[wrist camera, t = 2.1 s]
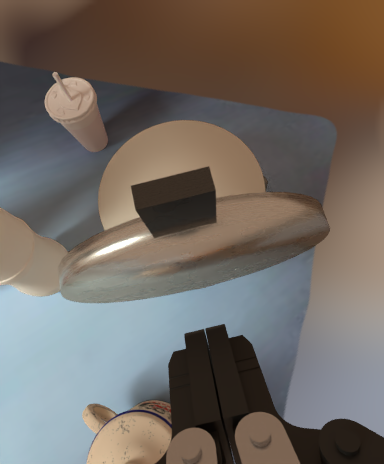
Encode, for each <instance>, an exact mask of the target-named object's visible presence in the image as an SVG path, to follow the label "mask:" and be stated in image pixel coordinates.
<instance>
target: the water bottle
mask: <svg viewBox="0 0 384 464" xmlns="http://www.w3.org/2000/svg"><path fill="white" fill-rule="evenodd" d="M67 253H68V252H67V250H66V249H65V247H63V246H62V245H61V244H60V243H58V242H56V241H55V240H53V239H51V238H47V237H41V236H39V235H38V234H36V233H35V232H34V231H33V230H32V229H31V228H30V227H29V226H28V225H27V224H26V223H25V222H24V221H23V220H22V219H20V218H18V217H15V216H13V215H12V214H10V213H8V212H7V211H5V210H4V209H2V208H1V207H0V285H12V286H13V287H15V288H16V289H18V290H19V291H20V292H22V293H24V294H28V295H32V296H38V297H42V296H50V295H53V294H55V293H57V292H59V291H60V284H59V275H58V265H59V263H60V261H61V260H62V258H63V257H64V256H65V255H66V254H67Z"/></svg>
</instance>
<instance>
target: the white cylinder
mask: <svg viewBox="0 0 384 464" xmlns="http://www.w3.org/2000/svg"><path fill="white" fill-rule="evenodd" d="M208 166H209V168H210V171H211V175H212V178H213V182H214V186H215V189H216V198H218V197H224V196H230V195H239V194H247V193H262V192H265V191H266V187H267V184H268V181H267V180H266V178H265V177H264V176H263V174H262V171H261V168H260V166H259V164H258V161H257V160H256V158H255V156H254V155H253V153H252V152H251V151H250V149H249V148H248V147H247V146H246V145H245V144H244V143H243V142H242V141H241V140H240V139H239V138H237V137H236V136H235V135H233V134H232V133H230V132H229V131H227V130H225V129H223V128H221V127H218V126H216V125H213V124H209V123H206V122H201V121H194V120H179V121H171V122H165V123H161V124H158V125H155V126H152V127H150V128H148V129H145V130H143V131H142V132H140V133H138V134H136V135H135V136H134V137H132V138H131V139H130V140H128V141H127V142H126V143H125V144H124V145H123V146H122V147H120V149H119V150H118V151H117V152H116V153H115V154H114V156H113V157H112V159H111V160H110V162H109V163H108V165H107V167H106V169H105V171H104V174H103V176H102V179H101V183H100V188H99V195H98V207H99V214H100V218H101V222H102V225H103V227H104V230H108V229H110V228H112V227H114V226H117V225H120V224H122V223H125V222H127V221H130V220H132V219H135V218H138V217H140V216H139V215H138V213H137V212H136V210H135V205H134V200H133V195H132V190H131V186H132V185H136V184H140V183H144V182H148V181H152V180H156V179H160V178H164V177H168V176H172V175H176V174H180V173H184V172H188V171H192V170H196V169H200V168H204V167H208ZM214 285H215V284H214ZM210 286H212V285H210ZM206 287H209V286H206ZM206 287H202V288H206ZM198 289H201V288H198ZM194 290H195V289H194Z"/></svg>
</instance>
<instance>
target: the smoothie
mask: <svg viewBox="0 0 384 464" xmlns="http://www.w3.org/2000/svg"><path fill="white" fill-rule="evenodd" d="M53 77H54V78H55V80H56V81H57V83H56V84H54V85H53V86H52V87H51V88H50V89H49V91H48V92H47V94H46V97H45V107H46V110H47V111H48V113H49V115H50V116H51V117H52V118H53V119H54V120H55V121H57V122H59V123H61V124H62V125H63V126H64V127H65V128H66V129H67V130H68V131H69V132H70V133H71V134H72V135H73V136H74V137H75V138H76V139H77V140H78V141H79V142H80V143H81V144H82V145H83V146H84V147H85V148H86V149H87V150H88V151H90V152H99V151H101V150H103V149H104V148H105V147H106V145H107V143H108V137H107V134H106V131H105V128H104V125H103V122H102V119H101V116H100V113H99V109H98V106H97V103H96V102H97V97H96V93H95V91H94V89H93V88H92V86H91V85H90V83H89V82H87V81H86V80H84V79H81V78H66V79H63V80H61V79H60V77H59V75H58V74H57V73H56V72H54V73H53Z"/></svg>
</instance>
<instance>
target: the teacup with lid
mask: <svg viewBox="0 0 384 464" xmlns="http://www.w3.org/2000/svg"><path fill="white" fill-rule="evenodd" d="M82 417H83V420H84V422H85V423H86V424H87V426H88V427H89V428H90V429H91V430H92V431H94V432H95V433H96V434H97V435H96V437H95V438H94V440H93V442H92V445H91V447H90V450H89V454H88V458H87V464H155V463H156V462H158V461H159V460H160V459H161V458H162V456H163V455H164V454H165V453H166V451H167V449H168V446H169V444H170V442H171V437H172V425H171V406H170V404H169V403H166V402H163V401H159V400H150V401H145V402H142V403H140V404H138V405H136V406H134V407H133V408H131V409H130V410H128V411H126V412H123V413H120V414H116V413H115V412H114V411H112V410H111V409H109V408H107V407H105V406H103V405H100V404H90V405H88V406H87V407H86V408H85V410H84V411H83V414H82ZM103 420H104V421H105V422H104V421H103ZM106 422H107V423H106Z"/></svg>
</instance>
